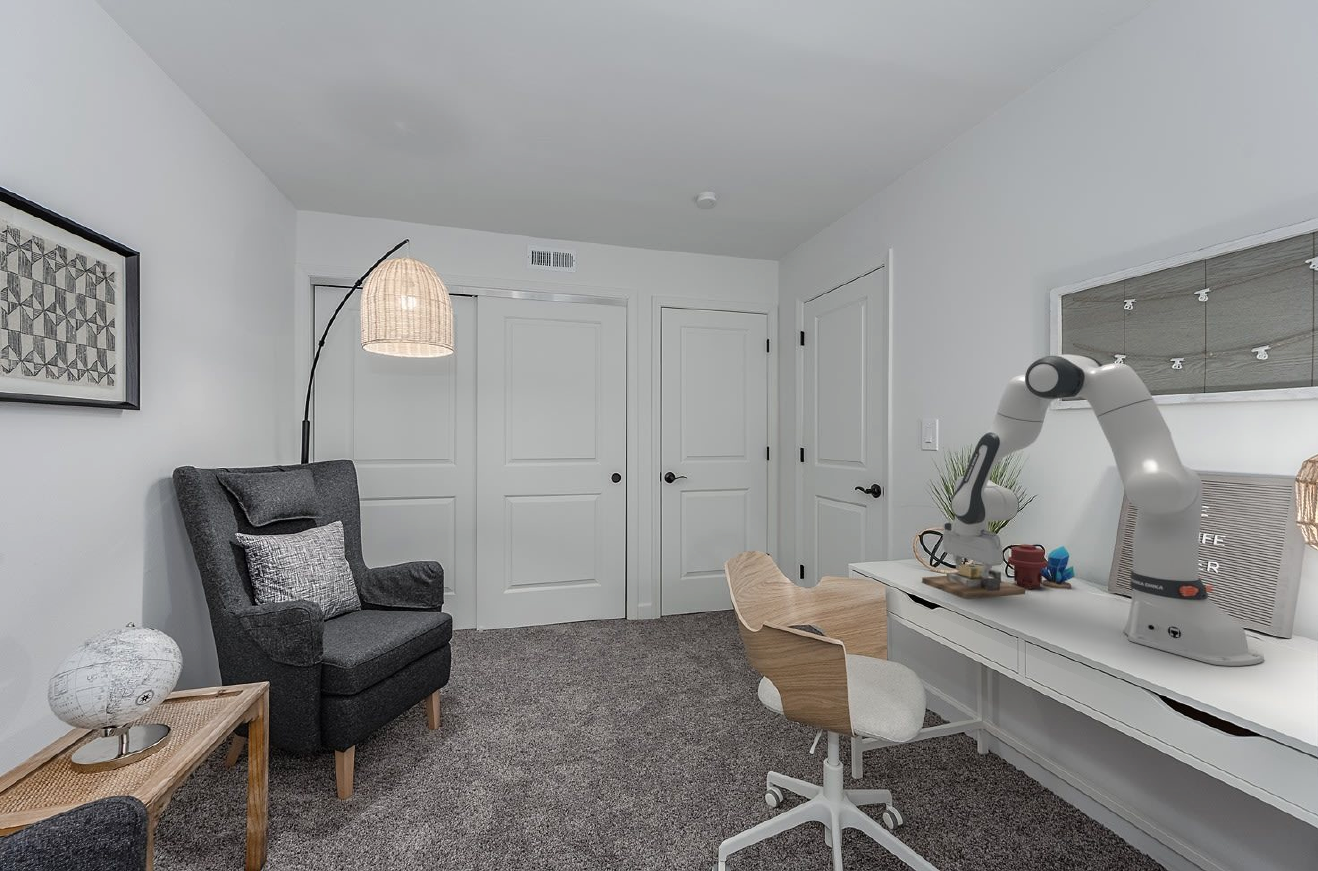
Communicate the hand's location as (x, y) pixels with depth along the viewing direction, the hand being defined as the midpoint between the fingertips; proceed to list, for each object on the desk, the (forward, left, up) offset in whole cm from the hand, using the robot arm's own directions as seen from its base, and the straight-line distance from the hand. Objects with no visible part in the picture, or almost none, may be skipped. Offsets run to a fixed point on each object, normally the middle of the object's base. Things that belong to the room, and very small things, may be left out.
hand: (971, 574), depth 170 cm
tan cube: (0, 0, -3) cm, 3 cm away
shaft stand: (0, 0, -4) cm, 4 cm away
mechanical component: (-3, -17, -4) cm, 18 cm away
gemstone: (-4, -26, -4) cm, 27 cm away
